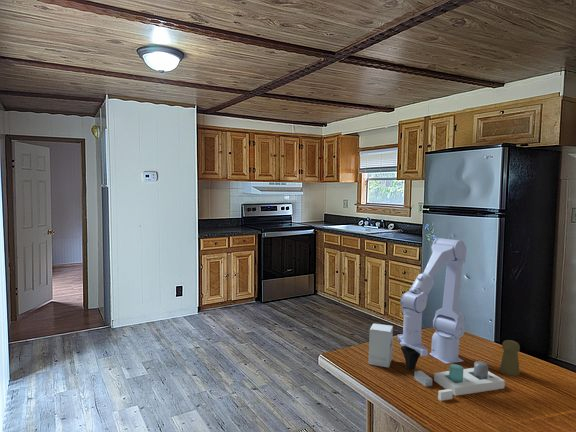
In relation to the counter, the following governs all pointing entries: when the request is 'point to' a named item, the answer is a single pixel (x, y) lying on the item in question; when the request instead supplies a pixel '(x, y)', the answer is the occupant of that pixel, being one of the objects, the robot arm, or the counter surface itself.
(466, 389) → the housing
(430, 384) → the bar
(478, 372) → the grey rounded block
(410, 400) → the counter surface
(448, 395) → the block
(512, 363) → the cork
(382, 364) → the supplement box
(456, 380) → the teal rounded block
